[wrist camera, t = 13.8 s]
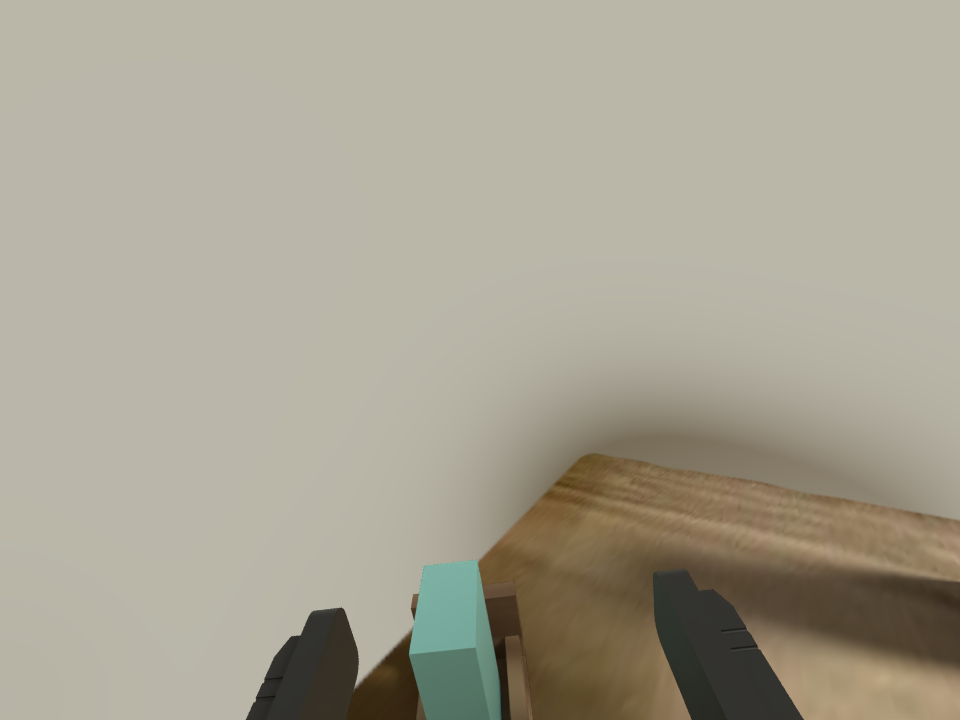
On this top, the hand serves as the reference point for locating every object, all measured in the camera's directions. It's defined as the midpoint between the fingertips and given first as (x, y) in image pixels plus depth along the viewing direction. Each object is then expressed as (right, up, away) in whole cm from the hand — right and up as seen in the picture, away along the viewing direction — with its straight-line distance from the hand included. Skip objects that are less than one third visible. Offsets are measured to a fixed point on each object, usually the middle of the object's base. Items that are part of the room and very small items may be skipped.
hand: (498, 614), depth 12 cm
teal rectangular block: (-1, -23, +23) cm, 32 cm away
